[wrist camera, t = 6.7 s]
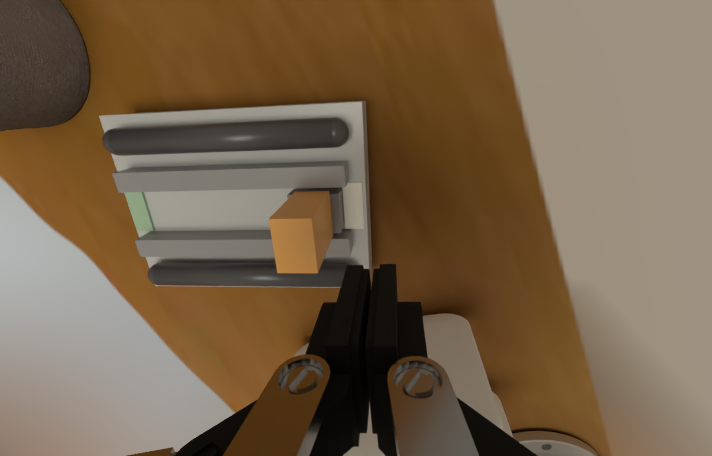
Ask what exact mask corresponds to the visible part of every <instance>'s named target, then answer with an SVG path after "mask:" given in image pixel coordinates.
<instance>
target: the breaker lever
mask: <svg viewBox="0 0 712 456" xmlns="http://www.w3.org/2000/svg"><path fill="white" fill-rule="evenodd" d="M287 198H288V200H287V201H286V202H285V203H284V204H283V205H282V206H281V207H280V208H279V209H278V210H277V211H276V212H275V213H274V214H273V215H272V216H271V217H270V218H269V225H270V231H271V237H272V243H273V249H274V256H275V262H276V268H277V273H318V272H319V270H320V267H321V265H322V262H323V260H324V257H325V255H326V252H327V250H328V247H329V245H330V243H331V240H332V238H333V233H341V232H342V229H343V227H344V212H343V198H342V188H302V189H293V190H292V191H291V192H290V193H289V194H288V195H287Z"/></svg>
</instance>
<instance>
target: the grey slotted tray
mask: <svg viewBox="0 0 712 456" xmlns="http://www.w3.org/2000/svg"><path fill="white" fill-rule="evenodd" d="M99 118H100V121H101V124H102V127H103V130H104V133H105V134H104V135H103V145H104V147H105V148H106V149H107V150H108V151H109V152H110V153H111V154H112V157H113V160H114V163H115V166H116V169H117V172H115V173H112V174H113V177H114V180H115V183H116V186H117V189H118V192H119V193H123V192H124V193H125V196H126V199H127V202H128V205H129V208H130V211H131V214H132V217H133V220H134V223H135V226H136V229H137V232H138V235H139V238H138V239H136V240H135V242H136V245H137V248H138V251H139V254H140V257H146V259H147V262H148V265H149V268H150V269H149V271H148V278H149V280H150V281H151V282H152V283H153V284H155V286H222V287H311V288H341V285H342V281H343V278H344V274H345V271H346V267H347V265H363V266H364V269H369V270H370V282H371V274H372V245H371V219H370V193H369V166H368V140H367V114H366V100H364V101H345V102H327V103H308V104H290V105H271V106H253V107H235V108H216V109H198V110H179V111H161V112H142V113H128V114H115V115H103V116H99ZM302 188H342V198H343V212H344V227H343V229H342V232H341V233H333V238H332V240H331V243H330V245H329V247H328V250H327V252H326V255H325V257H324V260H323V262H322V265H321V267H320V270H319V272H318V273H277V268H276V262H275V256H274V249H273V243H272V237H271V231H270V225H269V218H270V217H271V216H272V215H273V214H274V213H275V212H276V211H277V210H278V209H279V208H280V207H281V206H282V205H283V204H284V203H285V202H286V201H287V200H288V198H287V195H288V194H289V193H290V192H291V191H292V190H293V189H302Z"/></svg>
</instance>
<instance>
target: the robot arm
mask: <svg viewBox="0 0 712 456" xmlns="http://www.w3.org/2000/svg"><path fill="white" fill-rule="evenodd" d="M369 403H370V411H371V422H372V433H373V434H377V439H378V448H379V449H380V450H381V451H382V452H383V454H384V455H385V456H599V455H598V454H597V452H596V451H594V450H593V449H592V448H591V447H590V446H589V445H587V444H585V443H584V442H582V441H580V440H578V439H576V438H573V437H571V436H568V435H564V434H560V433H555V432H547V431H525V432H519V433H513V434H512V435H513V437H511V436H510V435H508V434H507V433H506V432H504V431H503V430H502V429H500V428H499V427H497V426H496V425H495V424H493V423H492V422H491V421H489V420H488V419H486V418H485V417H484V416H482V415H481V414H480V413H478V412H477V411H475V410H474V409H473V408H471V407H470V406H469V405H467V404H466V403H464V402H463V401H462V400H460V399H459V398H458V397H456V395H455V392H454V389H453V387H452V384H451V382H450V379H449V377H448V374H447V373H446V371H445V369H444V368H443V367H442V366H441V365H440V364H438V363H437V362H435V361H433V360H431V359H430V358H428V355H427V347H426V340H425V332H424V324H423V316H422V309H421V302H397V277H396V264H380V269H374V272H373V281H372V289H371V282H370V270H369V269H364V266H363V265H347V267H346V271H345V274H344V278H343V281H342V285H341V288H340V292H339V296H338V299H337V302H331V303H323V305H322V307H321V310H320V313H319V316H318V319H317V322H316V325H315V327H314V330H313V333H312V336H311V339H310V342H309V345H308V348H307V351H306V354H304V355H299V356H295V357H293V358H291V359H288V360H287V361H285V362H284V363H283V364H281V365H280V366H279V367H278V369H277V370H276V371H275V372H274V374H273V376H272V377H271V379H270V381H269V382H268V384H267V385H266V387H265V389H264V390H263V392H262V393H261V395H260V397H259V398H258V400H256V401H255V402H253V403H251V404H250V405H248V406H246V407H245V408H243V409H242V410H240V411H238V412H237V413H235V414H233V415H232V416H230V417H229V418H227V419H225V420H224V421H222V422H220V423H219V424H217V425H216V426H214V427H212V428H211V429H209V430H207V431H206V432H204V433H203V434H201V435H199V436H198V437H196V438H194V439H193V440H191V441H190V442H189V443H187V444H186V445H185V446H183V447H182V448H181V449H180V450H179V451H178V452H175V451H174V449H173V447H172V448H167V449H162V450H156V451H150V452H145V453H139V454H134V455H128V456H343V455H344V454H345V453H347V452H348V451H349V450H350V449H351V448H352V447H359V438H360V433H367V428H368V415H369Z"/></svg>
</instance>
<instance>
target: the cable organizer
mask: <svg viewBox="0 0 712 456" xmlns="http://www.w3.org/2000/svg"><path fill="white" fill-rule="evenodd" d="M423 324H424V332H425V340H426V347H427V355H428V358H430V359H431V360H433V361H435V362H437V363H438V364H440V365H441V366H442V367H443V368H444V369H445V371H446V373H447V374H448V377H449V379H450V382H451V384H452V387H453V389H454V392H455V395H456V397H458V398H459V399H460V400H462V401H463V402H464V403H466V404H467V405H469V406H470V407H471V408H473V409H474V410H475V411H477V412H478V413H480V414H481V415H482V416H484V417H485V418H486V419H488V420H489V421H491V422H492V423H493V424H495V425H496V426H497V427H499V428H500V429H502V430H503V431H504V432H506V433H507V434H508V435H510V436H511V437H513V435H512V432H511V429H510V426H509V424H508V421H507V418H506V415H505V412H504V409H503V406H502V404H501V401H500V399H499V397H498V396H497V395H496V394H495V393H493V392H492V390H491V387H490V384H489V381H488V378H487V375H486V372H485V369H484V366H483V363H482V360H481V357H480V354H479V351H478V348H477V345H476V342H475V339H474V336H473V333H472V330H471V327H470V324H469V322H468V321H467V320H466V319H465V318H464V317H462V316H459V315H456V314H448V313H444V314H435V315H425V316H423ZM308 345H309V343H307V344H306V345H304V346H303V347H302V348H300V349H299V350H298V351H297V352H296V354H295V355H294V357H295V356H299V355H304V354H306V351H307V348H308ZM343 456H385V455H384V454H383V452H382V451H381V450H380V449H379V448H378V439H377V434H373V433H372V422H371V411H370V403H369V415H368V428H367V433H360V438H359V447H352V448H351V449H350V450H349V451H348V452H347V453H345V454H344V455H343Z"/></svg>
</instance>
